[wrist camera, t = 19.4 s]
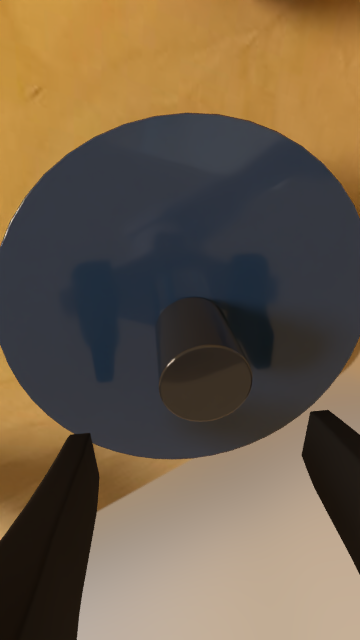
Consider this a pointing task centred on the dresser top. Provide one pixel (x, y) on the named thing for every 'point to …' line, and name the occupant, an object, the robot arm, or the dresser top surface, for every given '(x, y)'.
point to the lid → (181, 286)
